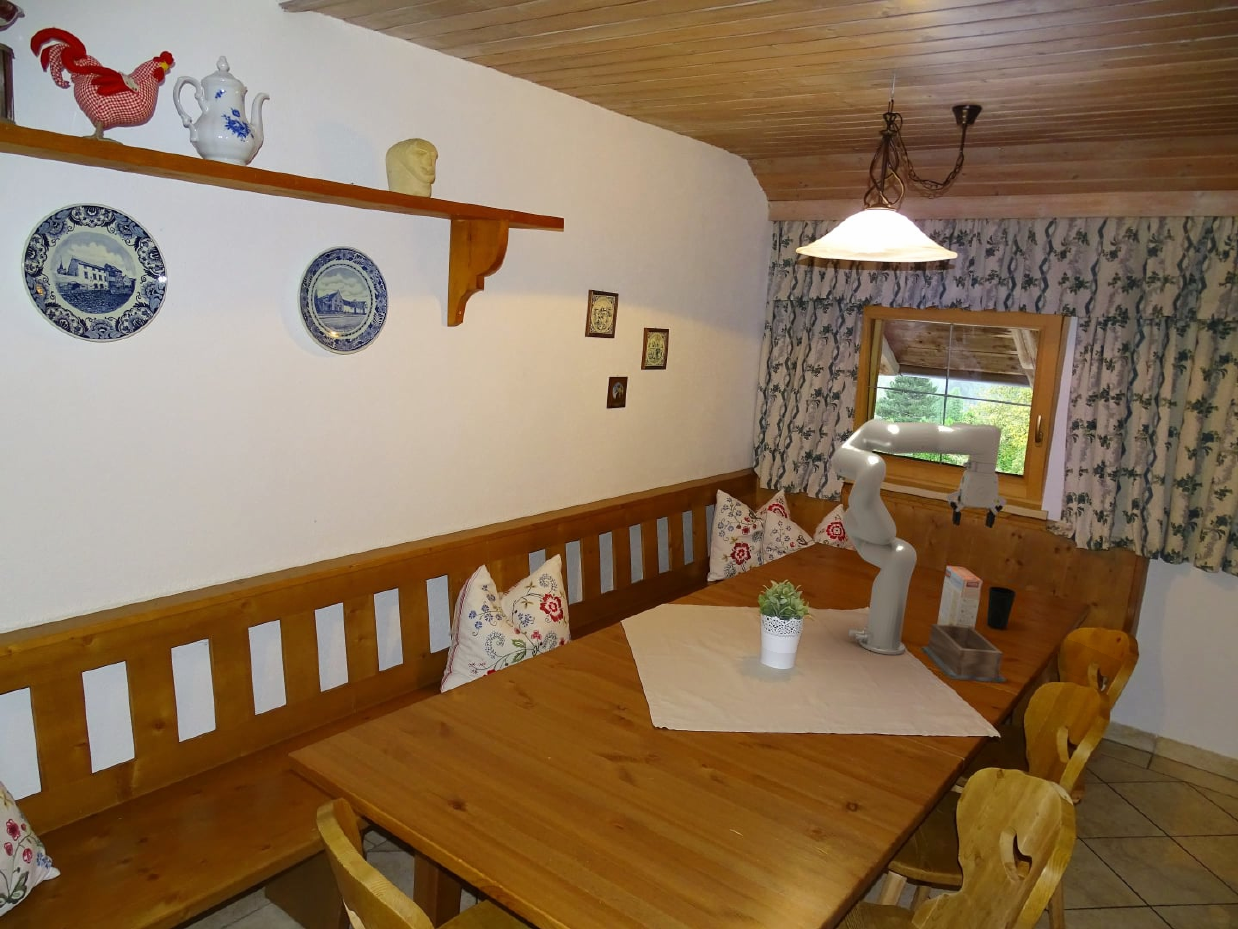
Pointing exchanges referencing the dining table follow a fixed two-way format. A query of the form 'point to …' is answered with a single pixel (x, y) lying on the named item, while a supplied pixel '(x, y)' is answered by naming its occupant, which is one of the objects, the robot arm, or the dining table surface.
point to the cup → (999, 607)
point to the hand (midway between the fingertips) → (972, 525)
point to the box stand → (964, 653)
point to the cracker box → (959, 597)
